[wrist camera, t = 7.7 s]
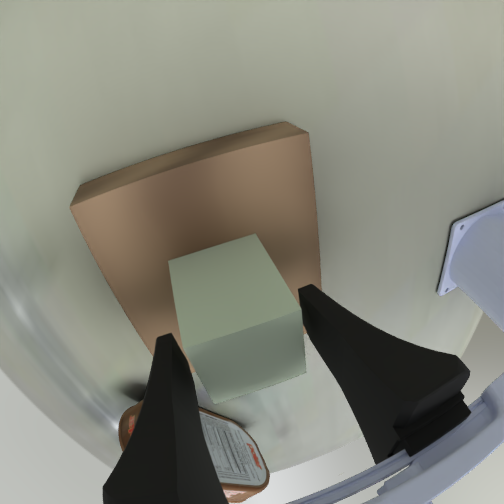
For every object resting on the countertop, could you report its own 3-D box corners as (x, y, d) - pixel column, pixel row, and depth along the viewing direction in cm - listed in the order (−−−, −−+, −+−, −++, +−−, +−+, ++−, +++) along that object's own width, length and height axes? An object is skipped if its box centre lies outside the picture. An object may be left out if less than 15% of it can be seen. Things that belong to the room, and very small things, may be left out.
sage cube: (255, 233, 14) (301, 309, 10) (267, 297, 17) (306, 372, 13) (167, 260, 14) (183, 348, 10) (193, 321, 16) (214, 404, 12)
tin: (113, 391, 21) (122, 494, 14) (138, 372, 21) (153, 483, 14) (233, 435, 30) (257, 504, 23) (256, 422, 30) (284, 493, 23)
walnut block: (281, 119, 15) (308, 132, 12) (303, 296, 22) (323, 326, 20) (82, 181, 14) (69, 207, 11) (163, 343, 21) (169, 379, 18)
